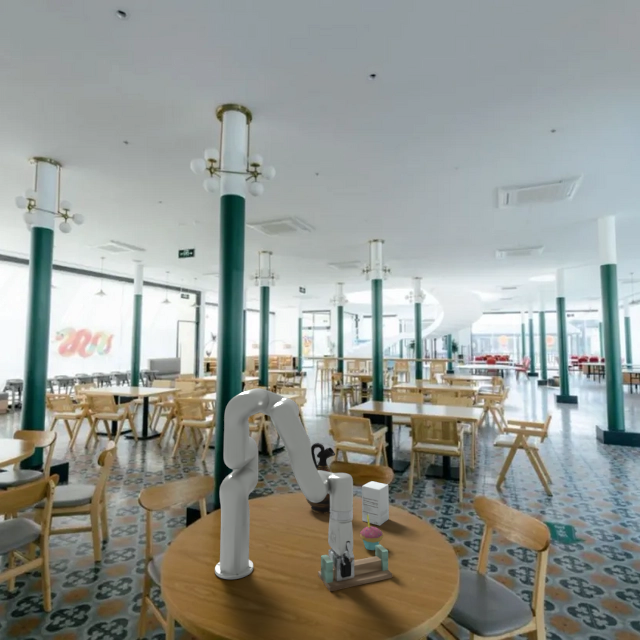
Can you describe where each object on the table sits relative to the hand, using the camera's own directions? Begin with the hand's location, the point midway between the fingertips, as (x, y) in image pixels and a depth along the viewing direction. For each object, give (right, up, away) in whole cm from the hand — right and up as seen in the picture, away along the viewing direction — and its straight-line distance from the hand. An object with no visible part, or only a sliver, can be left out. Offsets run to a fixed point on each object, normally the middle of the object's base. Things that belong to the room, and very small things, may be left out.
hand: (341, 570), depth 133 cm
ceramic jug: (-7, -8, +59) cm, 60 cm away
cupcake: (+13, -5, +22) cm, 26 cm away
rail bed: (+5, -3, +2) cm, 6 cm away
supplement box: (+17, -7, +47) cm, 51 cm away
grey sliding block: (0, -1, 0) cm, 1 cm away
